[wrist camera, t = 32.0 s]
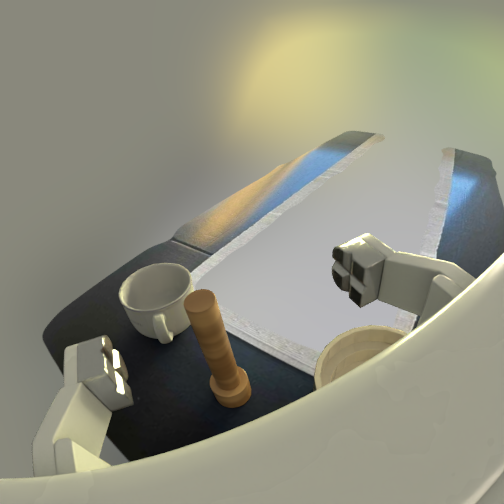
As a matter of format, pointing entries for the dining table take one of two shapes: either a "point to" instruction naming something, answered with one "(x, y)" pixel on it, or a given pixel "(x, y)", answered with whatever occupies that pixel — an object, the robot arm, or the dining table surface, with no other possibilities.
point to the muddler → (217, 349)
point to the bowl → (352, 351)
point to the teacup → (157, 300)
